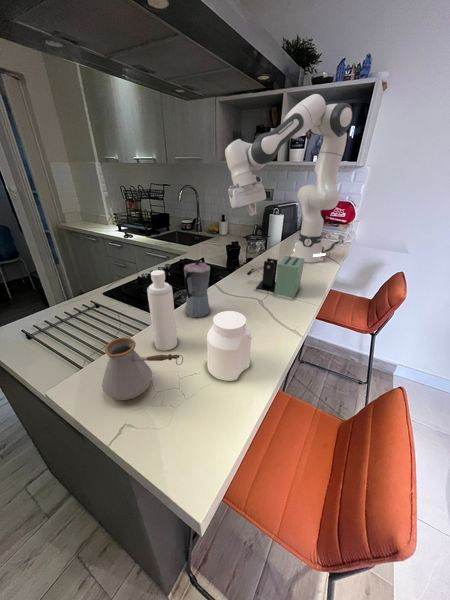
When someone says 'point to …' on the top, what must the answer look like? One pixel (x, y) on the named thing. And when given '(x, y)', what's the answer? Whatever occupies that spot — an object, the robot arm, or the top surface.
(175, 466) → the top surface
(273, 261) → the lever
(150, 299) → the white bottle
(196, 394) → the top surface
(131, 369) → the coffee pot
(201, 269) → the moka pot
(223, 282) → the top surface
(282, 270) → the toaster body
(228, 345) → the jar
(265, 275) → the lever bracket
